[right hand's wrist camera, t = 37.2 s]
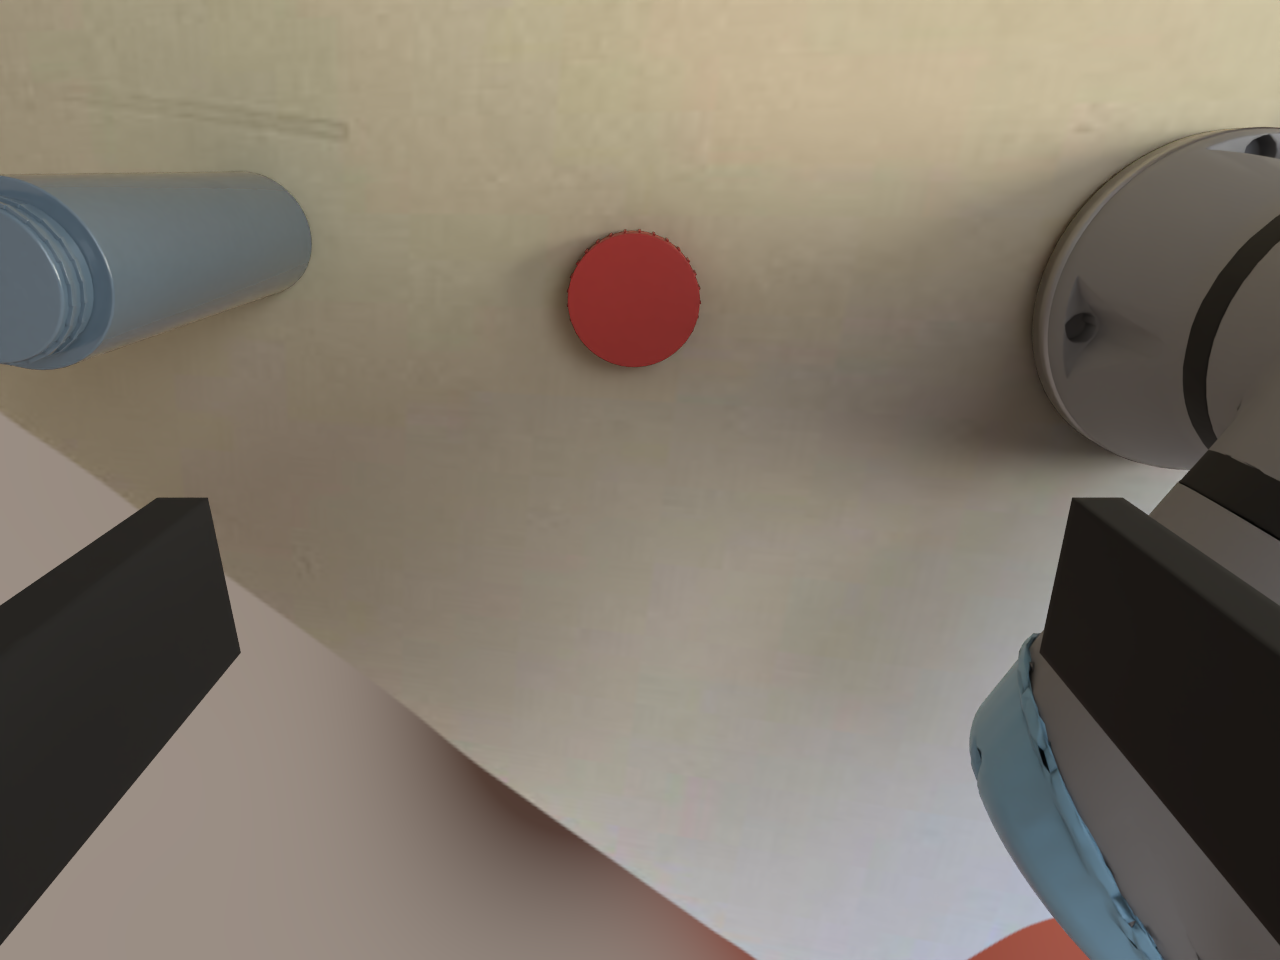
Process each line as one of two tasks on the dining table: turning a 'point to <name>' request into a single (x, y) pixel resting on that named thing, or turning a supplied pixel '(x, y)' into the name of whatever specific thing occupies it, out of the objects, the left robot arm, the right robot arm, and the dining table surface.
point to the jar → (136, 256)
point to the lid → (633, 298)
